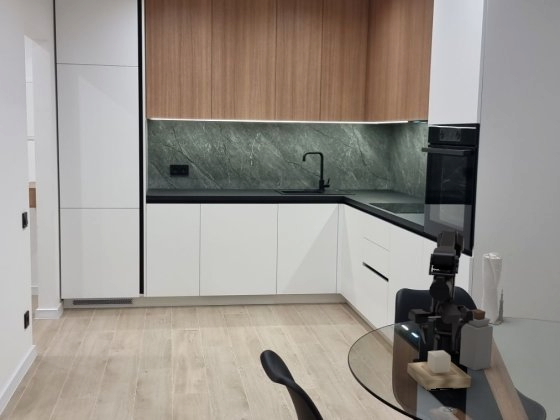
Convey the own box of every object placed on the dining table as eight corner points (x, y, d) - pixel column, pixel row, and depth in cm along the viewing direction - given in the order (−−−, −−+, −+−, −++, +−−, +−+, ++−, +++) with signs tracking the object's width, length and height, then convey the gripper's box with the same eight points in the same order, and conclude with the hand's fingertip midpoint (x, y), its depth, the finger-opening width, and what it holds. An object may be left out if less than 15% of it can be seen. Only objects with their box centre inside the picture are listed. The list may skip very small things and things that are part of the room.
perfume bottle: (474, 370, 213) (477, 315, 211) (459, 363, 219) (462, 309, 217) (490, 367, 217) (493, 312, 214) (475, 360, 222) (478, 306, 220)
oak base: (449, 369, 214) (449, 359, 213) (470, 387, 200) (470, 376, 200) (407, 372, 211) (407, 362, 211) (426, 390, 197) (426, 380, 197)
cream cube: (442, 365, 208) (443, 350, 207) (450, 372, 203) (450, 356, 203) (427, 367, 207) (428, 351, 206) (434, 373, 202) (435, 357, 202)
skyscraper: (497, 326, 258) (501, 254, 254) (476, 322, 262) (480, 251, 258) (503, 320, 265) (507, 250, 261) (482, 317, 269) (486, 248, 265)
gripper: (424, 301, 192) (421, 353, 194) (484, 298, 196) (481, 350, 198) (408, 290, 203) (406, 341, 205) (466, 288, 207) (463, 337, 209)
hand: (439, 342), depth 204 cm, fingers open, 9 cm apart
